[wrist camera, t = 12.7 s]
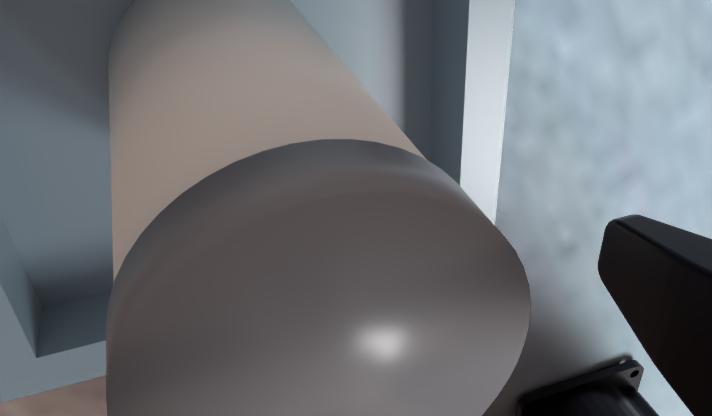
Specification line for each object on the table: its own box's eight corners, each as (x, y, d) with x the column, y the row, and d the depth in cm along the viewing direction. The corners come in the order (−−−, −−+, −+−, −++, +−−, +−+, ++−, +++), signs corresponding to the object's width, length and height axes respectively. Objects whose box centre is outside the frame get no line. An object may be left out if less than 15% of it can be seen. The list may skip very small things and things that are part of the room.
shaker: (309, -51, 15) (555, 147, 7) (326, 145, 18) (511, 445, 10) (74, -22, 14) (37, 261, 6) (133, 184, 17) (164, 563, 9)
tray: (470, -293, 14) (543, -308, 12) (448, 219, 22) (490, 272, 20) (-273, -264, 11) (-376, -277, 9) (14, 325, 19) (1, 403, 17)
